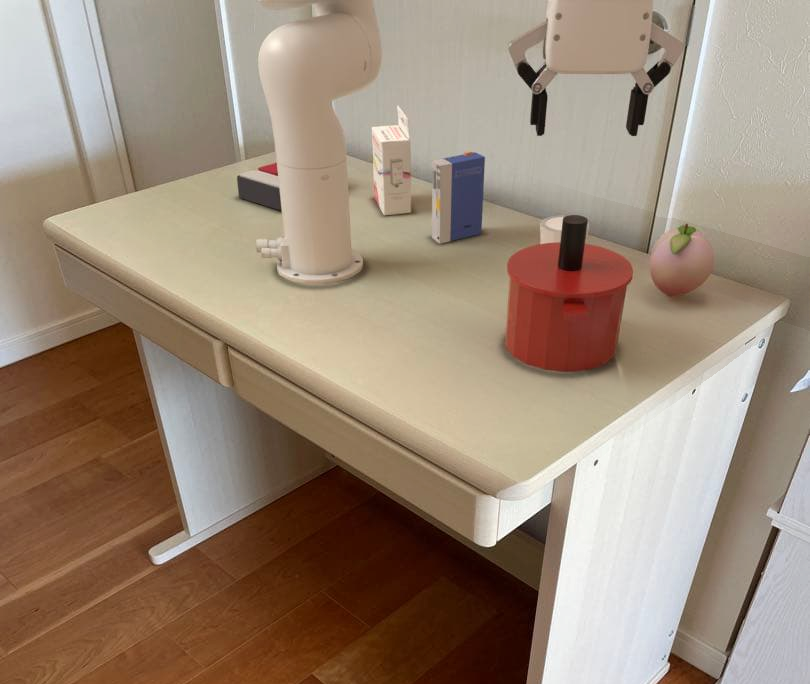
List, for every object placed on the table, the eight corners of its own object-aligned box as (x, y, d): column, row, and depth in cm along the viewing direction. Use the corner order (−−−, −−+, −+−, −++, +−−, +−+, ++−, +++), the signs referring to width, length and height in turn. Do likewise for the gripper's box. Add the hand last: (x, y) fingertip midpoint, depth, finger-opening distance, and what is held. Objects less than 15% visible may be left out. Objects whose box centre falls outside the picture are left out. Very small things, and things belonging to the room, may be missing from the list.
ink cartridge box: (372, 198, 148) (369, 106, 138) (400, 196, 149) (399, 104, 139) (383, 216, 142) (380, 120, 132) (412, 213, 143) (411, 118, 133)
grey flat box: (342, 166, 150) (279, 184, 141) (342, 191, 153) (281, 211, 144) (297, 154, 155) (235, 171, 146) (299, 179, 158) (237, 197, 149)
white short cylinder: (582, 282, 122) (588, 234, 117) (533, 279, 123) (538, 230, 118) (584, 263, 127) (590, 215, 122) (537, 260, 128) (542, 212, 123)
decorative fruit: (704, 315, 114) (722, 240, 107) (641, 308, 115) (655, 234, 109) (705, 285, 120) (722, 214, 114) (646, 279, 122) (659, 208, 116)
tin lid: (509, 303, 96) (513, 244, 92) (504, 250, 107) (507, 196, 103) (640, 304, 95) (651, 245, 91) (622, 251, 106) (630, 196, 102)
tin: (508, 386, 100) (514, 306, 94) (502, 312, 115) (507, 239, 108) (625, 388, 100) (640, 308, 93) (604, 313, 114) (616, 240, 108)
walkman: (472, 228, 137) (475, 149, 130) (481, 234, 136) (485, 154, 128) (429, 238, 135) (430, 158, 127) (439, 244, 133) (440, 163, 125)
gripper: (694, -70, 82) (661, 122, 93) (513, -69, 83) (502, 122, 94) (711, -60, 76) (674, 143, 88) (517, -59, 77) (504, 143, 88)
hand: (585, 132), depth 91 cm, fingers open, 9 cm apart
